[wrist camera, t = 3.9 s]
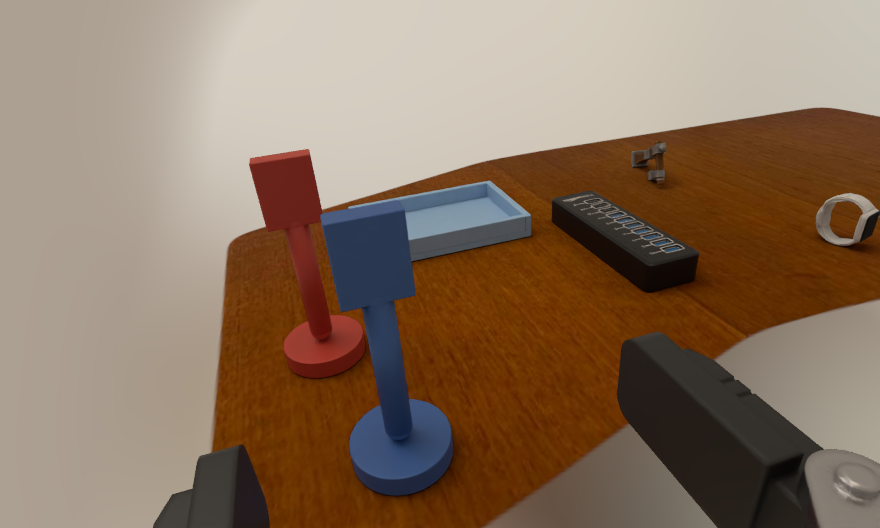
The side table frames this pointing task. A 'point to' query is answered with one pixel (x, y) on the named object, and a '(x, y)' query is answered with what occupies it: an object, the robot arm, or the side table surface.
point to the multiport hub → (625, 241)
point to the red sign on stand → (305, 265)
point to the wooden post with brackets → (652, 153)
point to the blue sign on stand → (385, 350)
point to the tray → (461, 219)
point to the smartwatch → (863, 226)
